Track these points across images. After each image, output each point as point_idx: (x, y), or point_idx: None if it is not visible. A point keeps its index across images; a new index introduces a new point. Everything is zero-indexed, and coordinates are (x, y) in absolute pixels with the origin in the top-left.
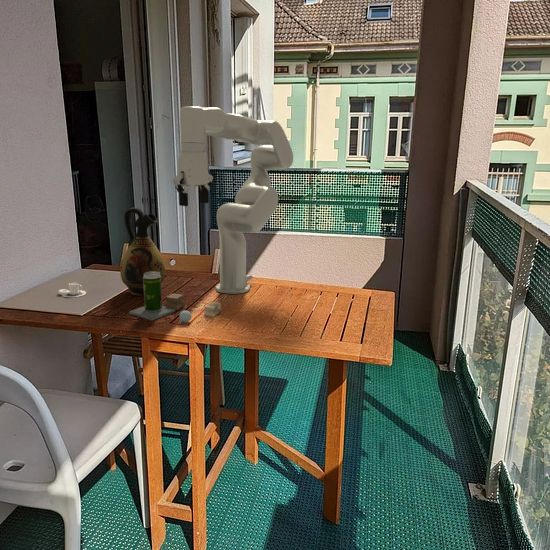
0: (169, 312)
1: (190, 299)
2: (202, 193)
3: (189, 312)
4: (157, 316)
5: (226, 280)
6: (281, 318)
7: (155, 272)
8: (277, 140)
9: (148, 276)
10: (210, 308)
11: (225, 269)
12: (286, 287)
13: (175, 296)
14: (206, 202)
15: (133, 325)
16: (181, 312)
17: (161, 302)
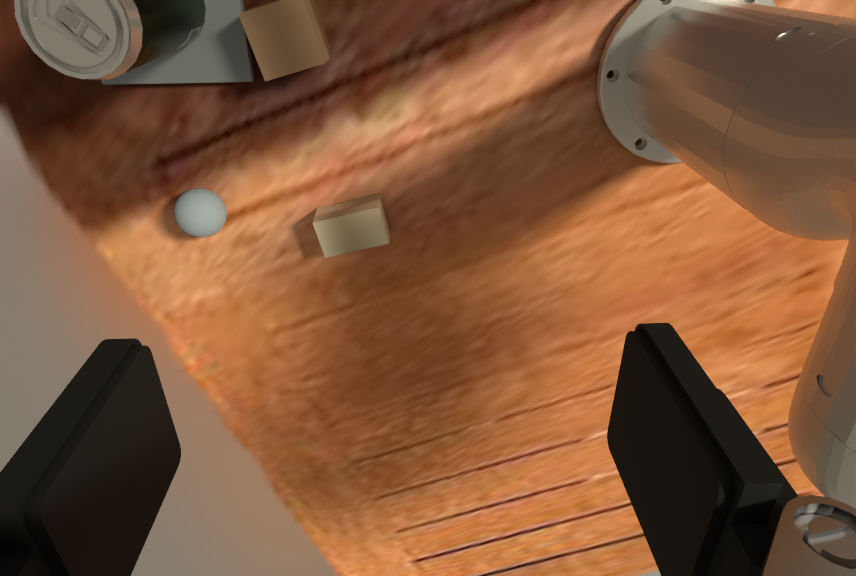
0: (215, 81)
1: (428, 3)
2: (679, 490)
3: (209, 232)
4: (138, 83)
5: (641, 96)
6: (463, 409)
7: (106, 22)
8: None
9: (33, 43)
10: (321, 243)
11: (666, 104)
12: (816, 250)
13: (279, 49)
14: (609, 438)
15: (12, 61)
16: (180, 212)
17: (180, 47)
